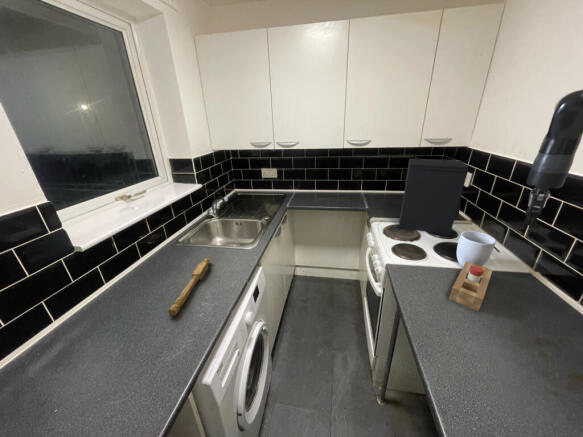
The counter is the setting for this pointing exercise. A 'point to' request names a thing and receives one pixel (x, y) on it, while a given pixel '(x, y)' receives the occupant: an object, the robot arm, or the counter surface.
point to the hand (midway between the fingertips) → (528, 220)
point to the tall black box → (432, 195)
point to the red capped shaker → (475, 274)
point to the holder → (470, 287)
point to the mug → (474, 247)
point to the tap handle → (189, 286)
